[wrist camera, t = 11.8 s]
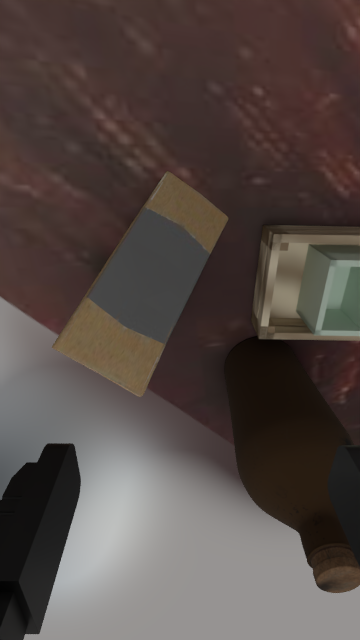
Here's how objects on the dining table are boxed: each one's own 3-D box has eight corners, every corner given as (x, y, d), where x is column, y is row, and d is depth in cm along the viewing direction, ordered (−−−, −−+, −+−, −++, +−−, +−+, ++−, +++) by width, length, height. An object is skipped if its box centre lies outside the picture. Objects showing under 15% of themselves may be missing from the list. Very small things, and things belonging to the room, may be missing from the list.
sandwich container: (232, 217, 36) (264, 255, 23) (154, 321, 42) (142, 400, 28) (166, 166, 34) (159, 175, 20) (93, 283, 39) (49, 350, 26)
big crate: (263, 225, 36) (273, 234, 32) (405, 227, 36) (434, 237, 32) (251, 320, 41) (259, 339, 37) (376, 322, 42) (397, 341, 37)
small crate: (308, 244, 36) (331, 259, 31) (358, 245, 36) (389, 261, 31) (295, 311, 40) (314, 335, 35) (341, 311, 40) (366, 336, 35)
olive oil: (232, 323, 42) (294, 521, 19) (312, 340, 43) (459, 544, 20) (210, 390, 46) (239, 612, 24) (282, 403, 47) (376, 628, 25)
